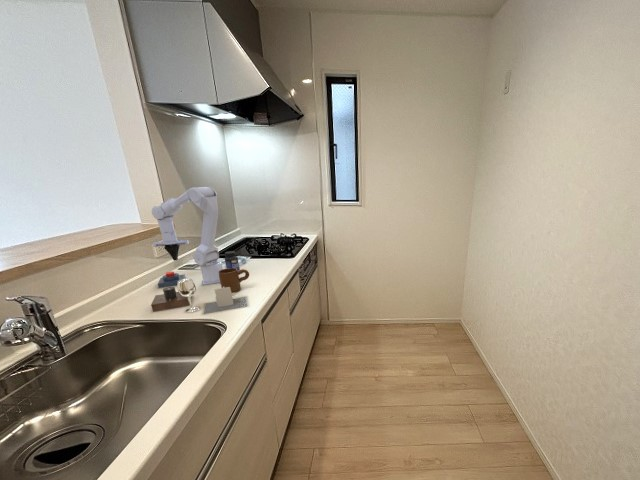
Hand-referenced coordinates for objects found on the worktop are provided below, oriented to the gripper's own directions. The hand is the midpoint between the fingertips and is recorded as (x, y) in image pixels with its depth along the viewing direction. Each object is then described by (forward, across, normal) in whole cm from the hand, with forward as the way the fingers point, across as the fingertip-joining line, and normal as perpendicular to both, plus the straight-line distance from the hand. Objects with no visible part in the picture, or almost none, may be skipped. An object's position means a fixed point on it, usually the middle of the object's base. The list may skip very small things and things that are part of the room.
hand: (175, 259), depth 152 cm
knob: (+7, +6, -34) cm, 36 cm away
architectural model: (+10, +27, -43) cm, 52 cm away
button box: (+10, -2, -6) cm, 12 cm away
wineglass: (+10, +16, -44) cm, 48 cm away
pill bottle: (+10, +24, +2) cm, 26 cm away
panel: (+10, +6, -34) cm, 36 cm away
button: (+6, -2, -6) cm, 9 cm away
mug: (+10, +29, -26) cm, 40 cm away
